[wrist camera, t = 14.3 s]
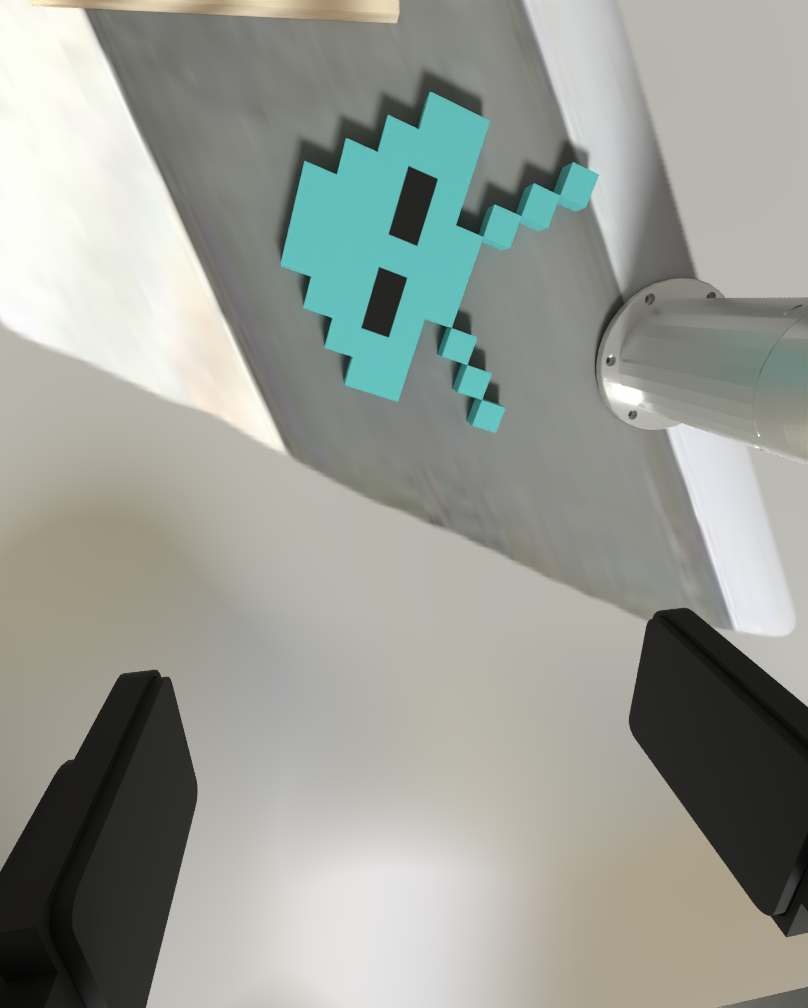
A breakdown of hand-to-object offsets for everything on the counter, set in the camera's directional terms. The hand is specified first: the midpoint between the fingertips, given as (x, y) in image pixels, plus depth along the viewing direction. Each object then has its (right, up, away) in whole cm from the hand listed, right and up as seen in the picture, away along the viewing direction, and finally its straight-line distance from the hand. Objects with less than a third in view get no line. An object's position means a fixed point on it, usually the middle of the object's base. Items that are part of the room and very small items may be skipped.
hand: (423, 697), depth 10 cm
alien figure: (+1, +22, +29) cm, 37 cm away
